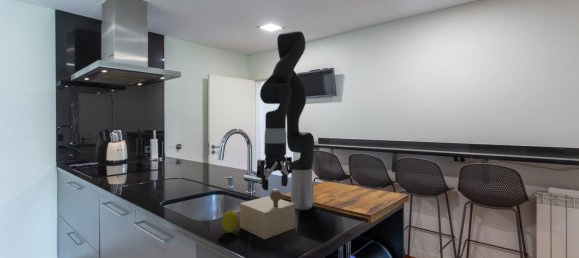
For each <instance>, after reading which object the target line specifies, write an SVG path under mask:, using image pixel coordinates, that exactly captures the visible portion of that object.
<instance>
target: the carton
mask: <svg viewBox="0 0 579 258" xmlns="http://www.w3.org/2000/svg"><path fill="white" fill-rule="evenodd" d="M239 222H240V223H239V226H240V227H239V228H241V229H242V230H243V231H247V232H249V233H251V234H252V235H255V236H257V237H258V238H261V239H262V240H267V239H271V238H273V237H274V236H275V237H276V236H278V235H280V234H282V233H285V232H288V231H291V230H293V229H295V228H296V209H295V206H293V207H290V208H286V209H283V210H280V211H276V212H273V213H270V214H266V215H263V214H260V213H258V212H255V211H253V210H250V209H248V208H245V207H243V206H240V205H239Z"/></svg>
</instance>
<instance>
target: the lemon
mask: <svg viewBox="0 0 579 258" xmlns="http://www.w3.org/2000/svg"><path fill="white" fill-rule="evenodd" d="M239 222H240V219H239V216H238V213H236V211H234V210H232V209H229V210H228V211H226V212H225V213H224V214H223V216H222V219H221V225H222V228H223V229H224V231H226V232H228V233H229V234H231V233H233V232H234V231H235V230H236V229H237V228H238V226H239Z"/></svg>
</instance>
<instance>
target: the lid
mask: <svg viewBox="0 0 579 258" xmlns="http://www.w3.org/2000/svg"><path fill="white" fill-rule="evenodd" d="M240 206H243V207H245V208H248V209H250V210H253V211H255V212H258V213H260V214H263V215H266V214H270V213H273V212H276V211H280V210H283V209H286V208H290V207H293V206H295V204H294V203H291V201H287V200H284V199H282V193H281V191H280V190H278V189H274V190H272V191H271V192H270V193H269V195H268V196H263V197H260V198H255V199H252V200H247V201H244V202H240V203H239V207H240Z"/></svg>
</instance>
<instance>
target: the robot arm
mask: <svg viewBox="0 0 579 258" xmlns="http://www.w3.org/2000/svg"><path fill="white" fill-rule="evenodd" d="M276 43H277V51H278V57H279V60H278V61H277V63H276V64H275V66H274V68H273V71H272V73H271V75H269V77H268V78H267V79H266V80H265V81H264V83H263V84H262V86H261V88H260V92H259V96H260V100H261V101H262V102H263V103H264V104H266V105H267V104H269V105H278V107H277V108H276V109H274V110H269V111H266V113H265V119H264V121H265V127H264V129H265V130H264V148H263V149H264V150H263V151H264V157H265V158H264V159H257V160H256V161H257V162H256V177H257V178H259V179H261V189H263V191H269V177H270V175H271V174H273V172H276V171H279V172H280V174H281V178H280V179H281V186H282V187H287V186H288V183H289V181H288V179H289V175H290V180H291V181H290V202H291V203H294V204H295V210H298V211H306V210H307V211H308V210H309V209H312V208H313V206H312V204H313V205H314V184H313V163H314V159H315V157H314V153H315V137H314V135H313V134H312V133H311V132H308V131H306V132H305V131H300V127H299V124H300V118H301V115H302V113H303V111H304V110H305V109H304V108H305V106H306V103H307V97H306V96H307V95H306V87H305V84H304V82H303V80H302V79H301V78H300V77H299V75H298V74H297V73H296V71H295V68H296V66H297V65H298V63H299V61H300V60H301V58H302V56H303V54H304V53H305V50H306V38H305V35H304V33H303V32H302V31H299V30H295V31H290V32H283V33H279V34H278V36H277V41H276ZM287 147H288V149H289V151H290V152H292V153H298V154H300V156H299V158H298V159H296V160H293V158H292V157H291V156H287Z"/></svg>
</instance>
